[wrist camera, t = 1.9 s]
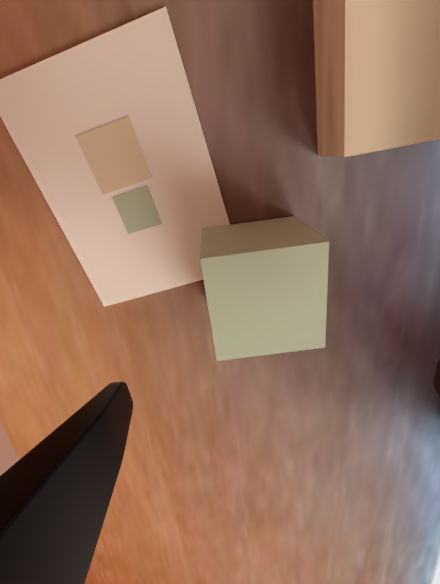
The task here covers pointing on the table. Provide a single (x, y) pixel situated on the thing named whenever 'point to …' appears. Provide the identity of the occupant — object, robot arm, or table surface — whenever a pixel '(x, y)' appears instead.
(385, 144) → the birch base block
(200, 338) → the table surface
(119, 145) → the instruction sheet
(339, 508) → the table surface
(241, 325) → the sage cube
